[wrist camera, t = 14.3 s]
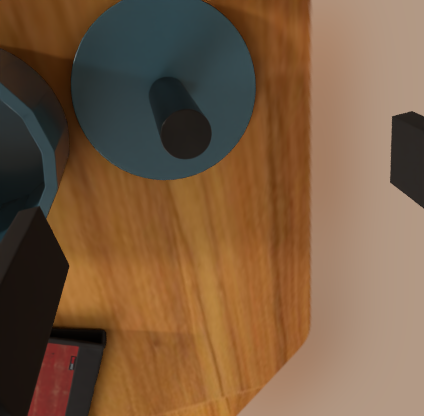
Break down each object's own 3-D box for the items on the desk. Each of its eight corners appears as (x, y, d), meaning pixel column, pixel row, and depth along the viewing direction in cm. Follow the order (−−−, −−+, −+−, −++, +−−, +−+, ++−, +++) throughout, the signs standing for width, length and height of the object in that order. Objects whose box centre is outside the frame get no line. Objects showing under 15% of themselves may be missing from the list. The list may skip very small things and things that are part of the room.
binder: (106, 345, 40) (77, 466, 49) (107, 329, 42) (80, 447, 51) (-71, 331, 36) (-68, 466, 45) (-60, 313, 38) (-59, 445, 47)
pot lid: (226, -37, 28) (281, -52, 19) (267, 143, 36) (321, 197, 26) (35, 28, 28) (-8, 46, 18) (117, 197, 35) (117, 272, 26)
